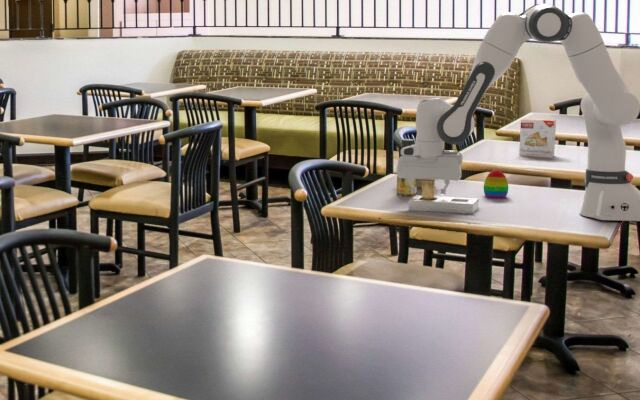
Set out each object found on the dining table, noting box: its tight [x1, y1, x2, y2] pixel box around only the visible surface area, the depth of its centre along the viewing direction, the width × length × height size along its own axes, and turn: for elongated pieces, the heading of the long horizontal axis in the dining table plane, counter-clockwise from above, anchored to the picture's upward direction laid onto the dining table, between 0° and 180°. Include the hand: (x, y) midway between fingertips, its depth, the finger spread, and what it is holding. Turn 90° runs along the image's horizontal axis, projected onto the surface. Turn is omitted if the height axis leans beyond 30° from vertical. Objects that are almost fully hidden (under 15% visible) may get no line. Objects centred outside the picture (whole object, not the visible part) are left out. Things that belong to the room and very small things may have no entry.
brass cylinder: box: [421, 179, 436, 200], centre depth 293 cm, size 4×4×9 cm
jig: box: [408, 194, 479, 215], centre depth 292 cm, size 20×12×3 cm, turn 73°
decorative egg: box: [483, 169, 509, 200], centre depth 312 cm, size 8×8×10 cm
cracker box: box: [518, 118, 557, 159], centre depth 396 cm, size 14×6×21 cm, turn 67°
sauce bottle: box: [396, 138, 416, 197], centre depth 312 cm, size 7×6×20 cm
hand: (428, 193), depth 293 cm, fingers open, 8 cm apart
